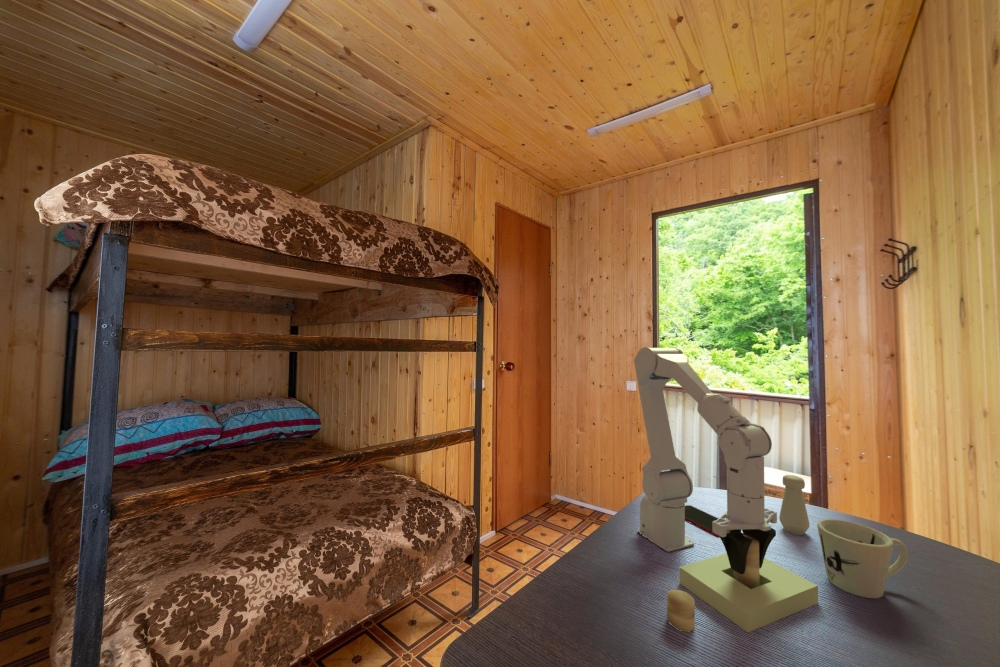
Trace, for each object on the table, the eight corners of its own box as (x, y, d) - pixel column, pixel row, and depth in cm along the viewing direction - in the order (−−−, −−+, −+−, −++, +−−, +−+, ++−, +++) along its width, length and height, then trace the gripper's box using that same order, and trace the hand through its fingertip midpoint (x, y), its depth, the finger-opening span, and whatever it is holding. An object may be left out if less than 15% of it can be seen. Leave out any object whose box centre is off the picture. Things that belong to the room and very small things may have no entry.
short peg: (661, 617, 62) (661, 593, 62) (679, 611, 63) (679, 587, 64) (681, 635, 58) (681, 609, 58) (700, 628, 60) (700, 602, 60)
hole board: (679, 583, 71) (679, 567, 71) (744, 562, 78) (744, 547, 78) (748, 632, 59) (747, 613, 59) (818, 603, 66) (817, 585, 66)
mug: (804, 568, 76) (803, 517, 76) (880, 570, 75) (879, 519, 76) (850, 604, 65) (849, 545, 66) (939, 606, 65) (938, 547, 65)
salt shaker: (815, 538, 87) (814, 482, 88) (787, 535, 89) (786, 480, 89) (800, 526, 93) (800, 473, 93) (774, 524, 94) (774, 471, 95)
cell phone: (689, 508, 104) (689, 504, 104) (741, 532, 91) (741, 528, 91) (668, 512, 101) (668, 509, 101) (718, 539, 88) (718, 534, 88)
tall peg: (728, 580, 69) (727, 536, 69) (742, 575, 71) (741, 531, 71) (750, 593, 66) (750, 547, 66) (764, 587, 67) (764, 542, 67)
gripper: (739, 507, 62) (739, 591, 62) (794, 494, 68) (795, 571, 67) (701, 491, 69) (702, 567, 68) (755, 481, 74) (755, 551, 74)
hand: (746, 568), depth 68 cm, fingers closed on tall peg, 4 cm apart
